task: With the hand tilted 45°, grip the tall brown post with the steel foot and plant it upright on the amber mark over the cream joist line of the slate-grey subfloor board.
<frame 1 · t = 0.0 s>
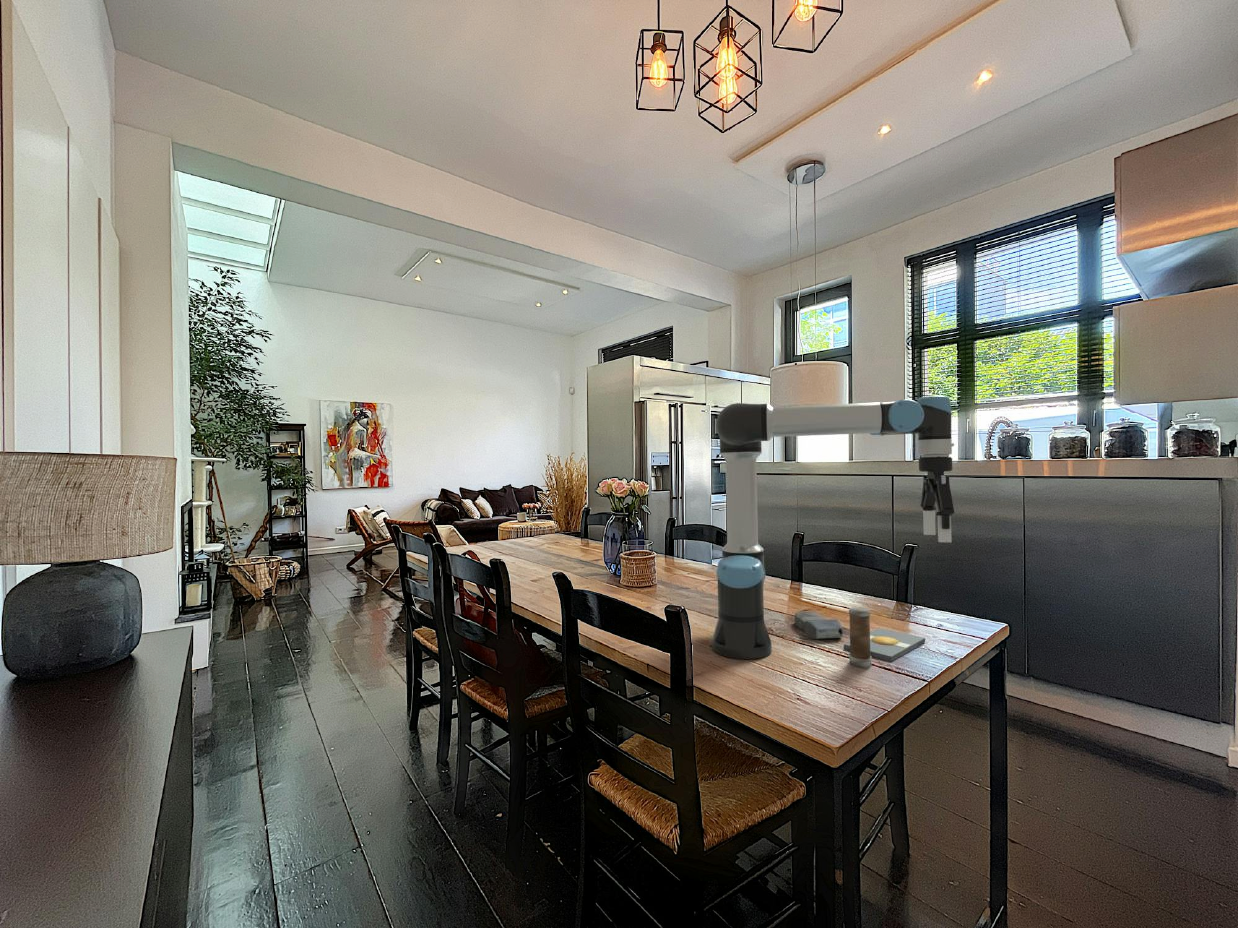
hand: (936, 538, 138), 28 cm above the table, tool pointing down, fingers open, 13 cm apart
tall brown post: (860, 663, 128), on the table
handheld device: (813, 631, 154), on the table
subfloor board: (885, 645, 140), on the table
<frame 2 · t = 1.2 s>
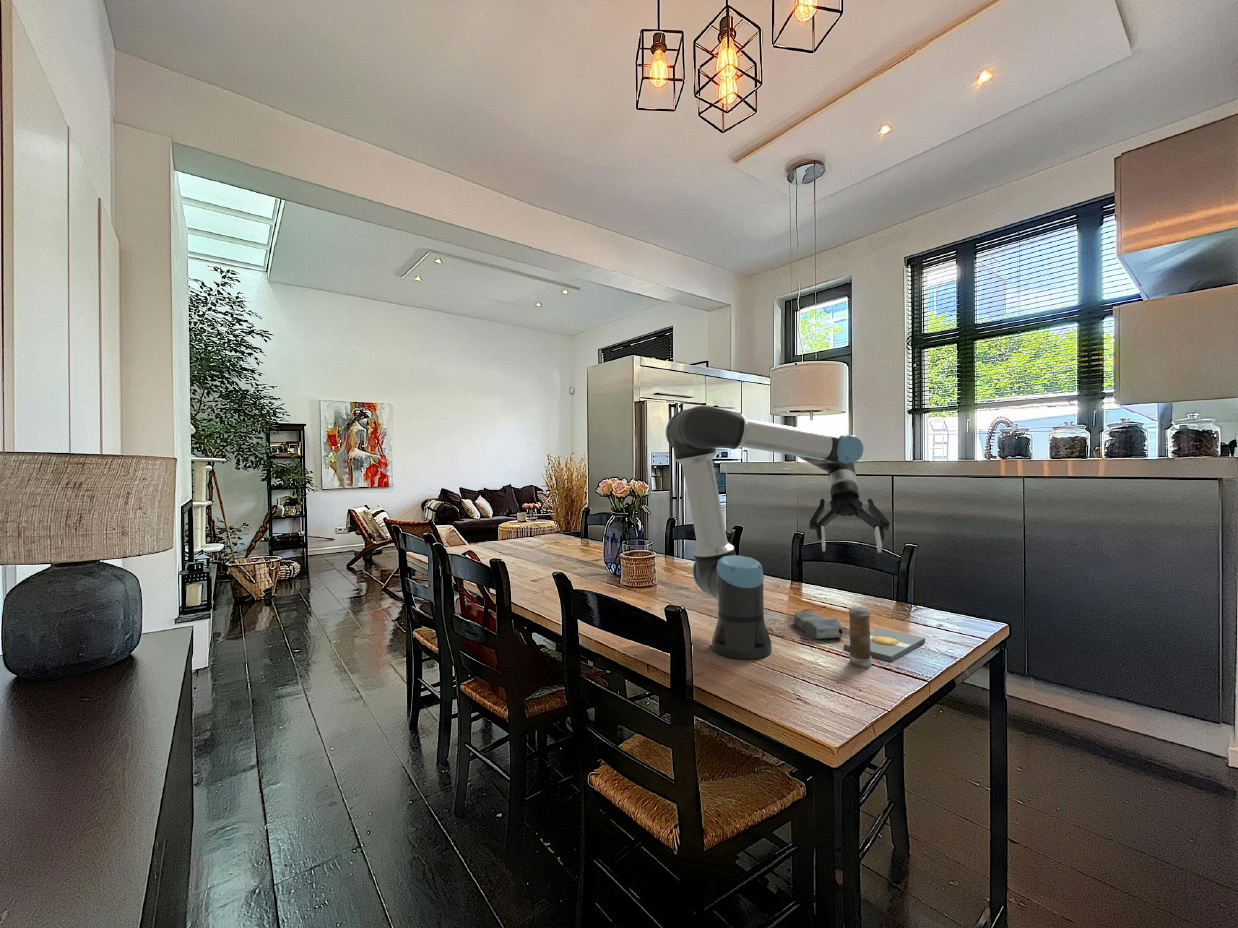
hand: (851, 549, 141), 25 cm above the table, tool tilted 45°, fingers open, 13 cm apart
nothing on the table moved.
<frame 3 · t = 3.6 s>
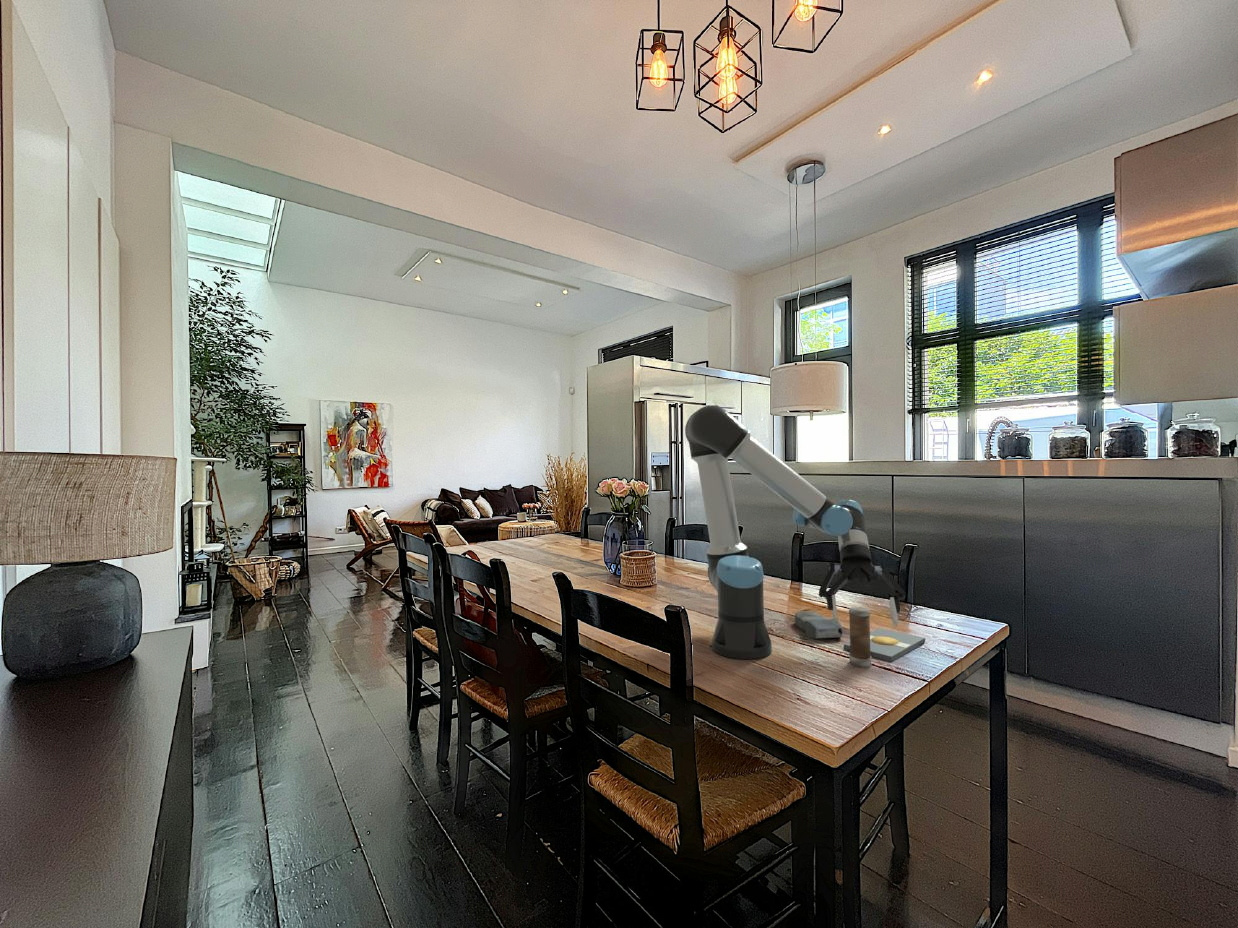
hand: (865, 622, 131), 9 cm above the table, tool tilted 45°, fingers open, 13 cm apart
nothing on the table moved.
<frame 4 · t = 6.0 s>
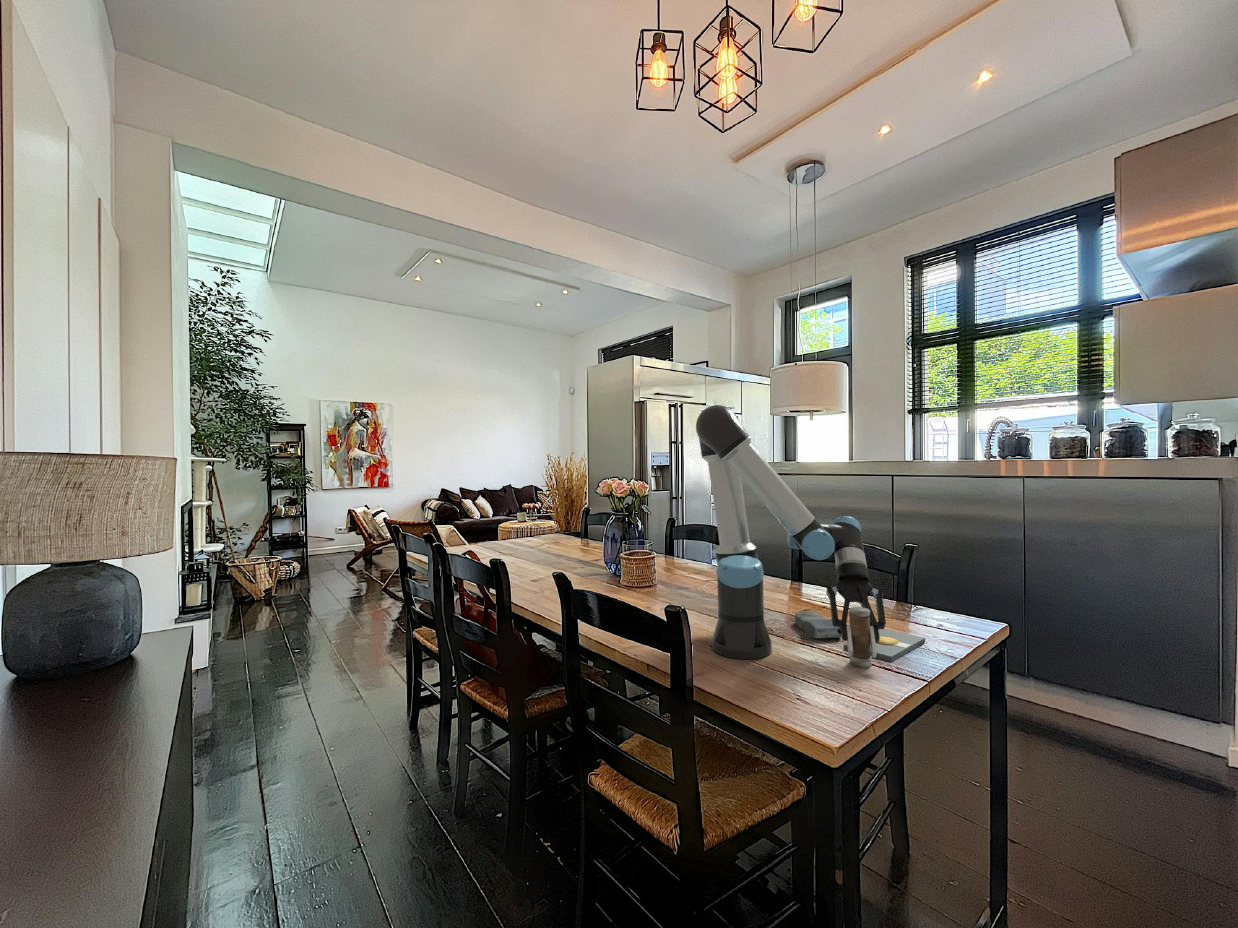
hand: (862, 653, 124), 4 cm above the table, tool tilted 45°, fingers closed on tall brown post, 4 cm apart
tall brown post: (860, 663, 128), on the table, touching gripper
everything else where it was.
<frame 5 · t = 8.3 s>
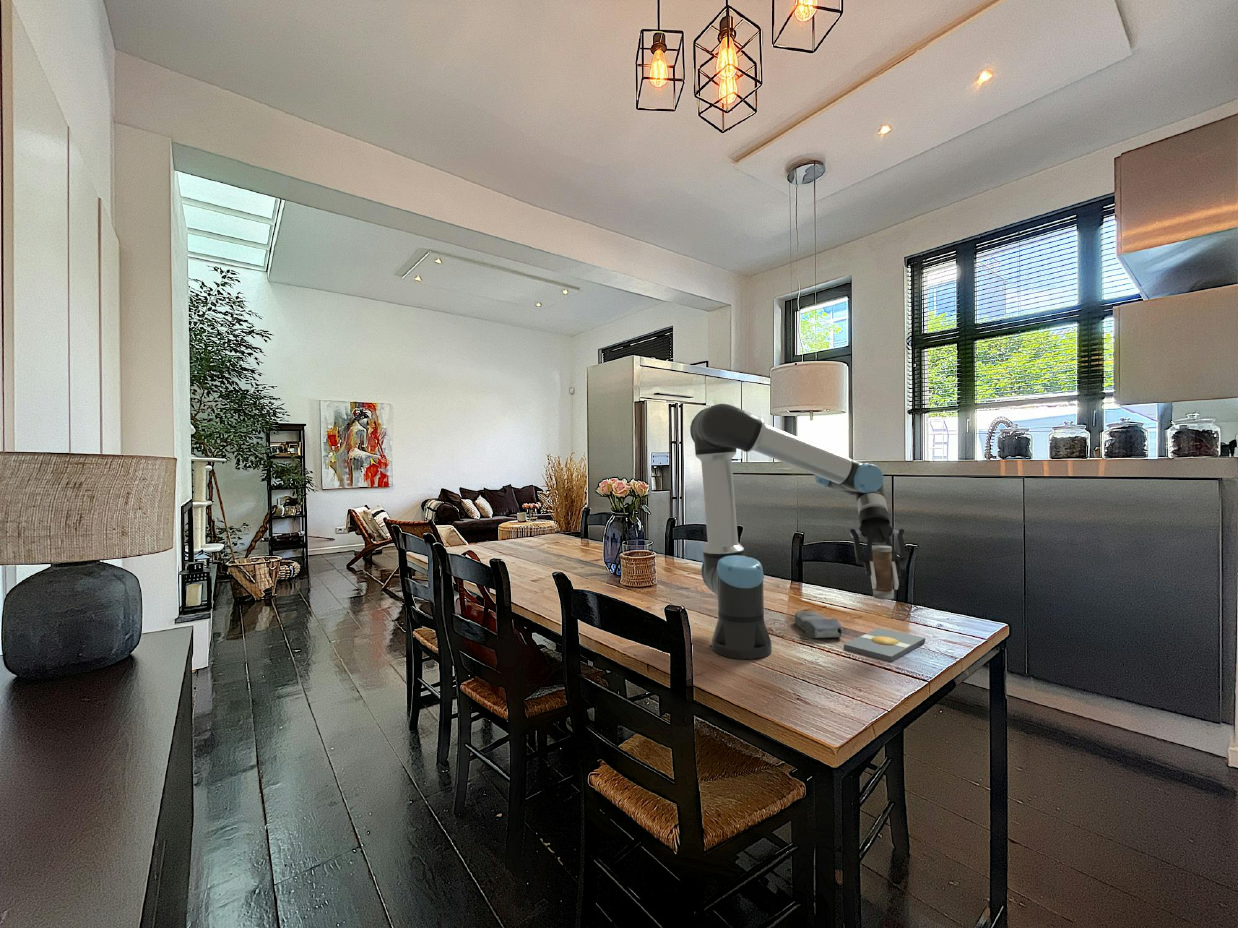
hand: (885, 586, 134), 17 cm above the table, tool tilted 45°, fingers closed on tall brown post, 4 cm apart
tall brown post: (883, 597, 138), point 13 cm above the table, touching gripper
everything else where it was.
when the fingers open (7 cm above the table, at t = 11.0 s): tall brown post drops 2 cm, resting on subfloor board.
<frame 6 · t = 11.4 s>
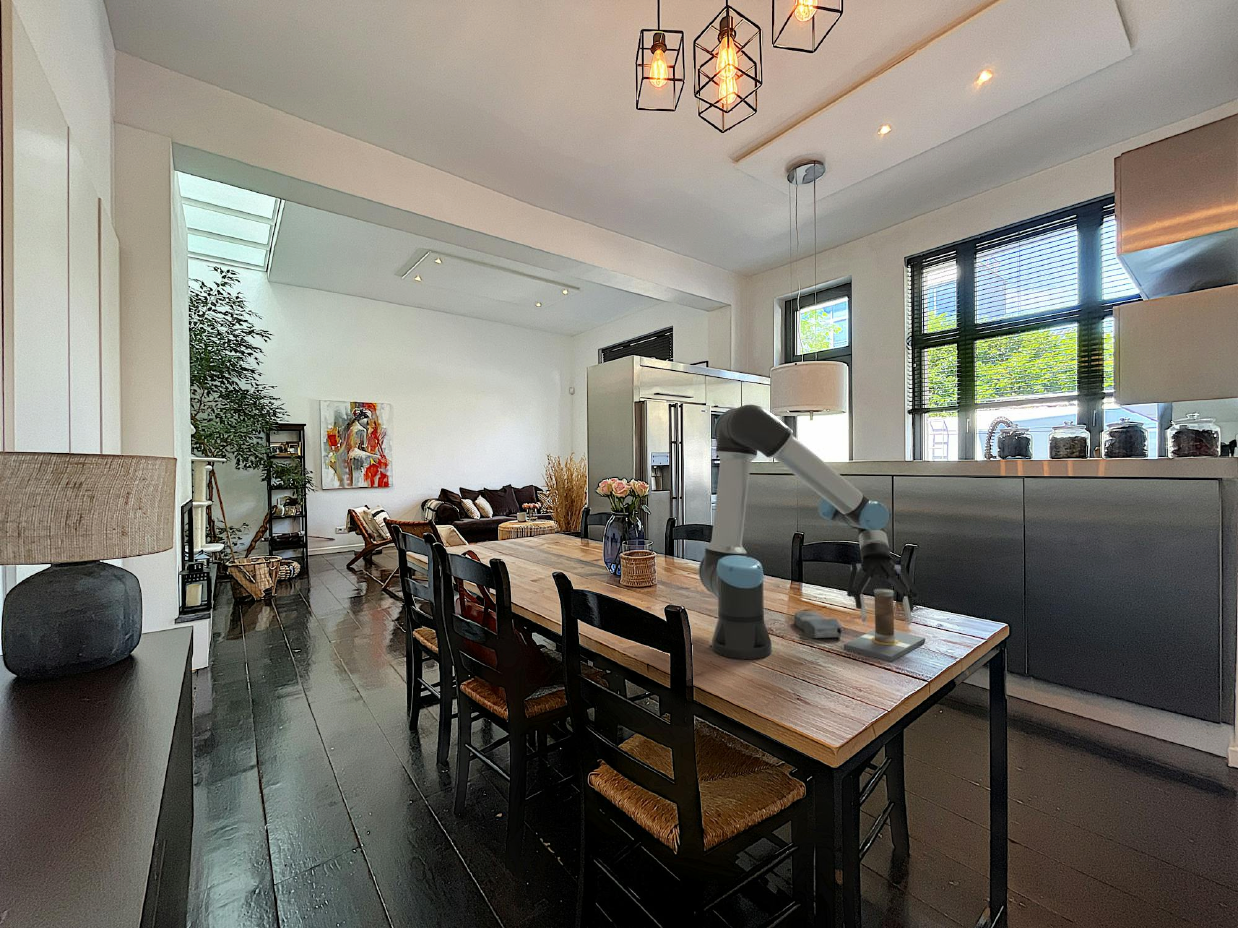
hand: (886, 620, 137), 7 cm above the table, tool tilted 45°, fingers open, 10 cm apart
tall brown post: (884, 640, 140), point 1 cm above the table, touching subfloor board
everything else where it was.
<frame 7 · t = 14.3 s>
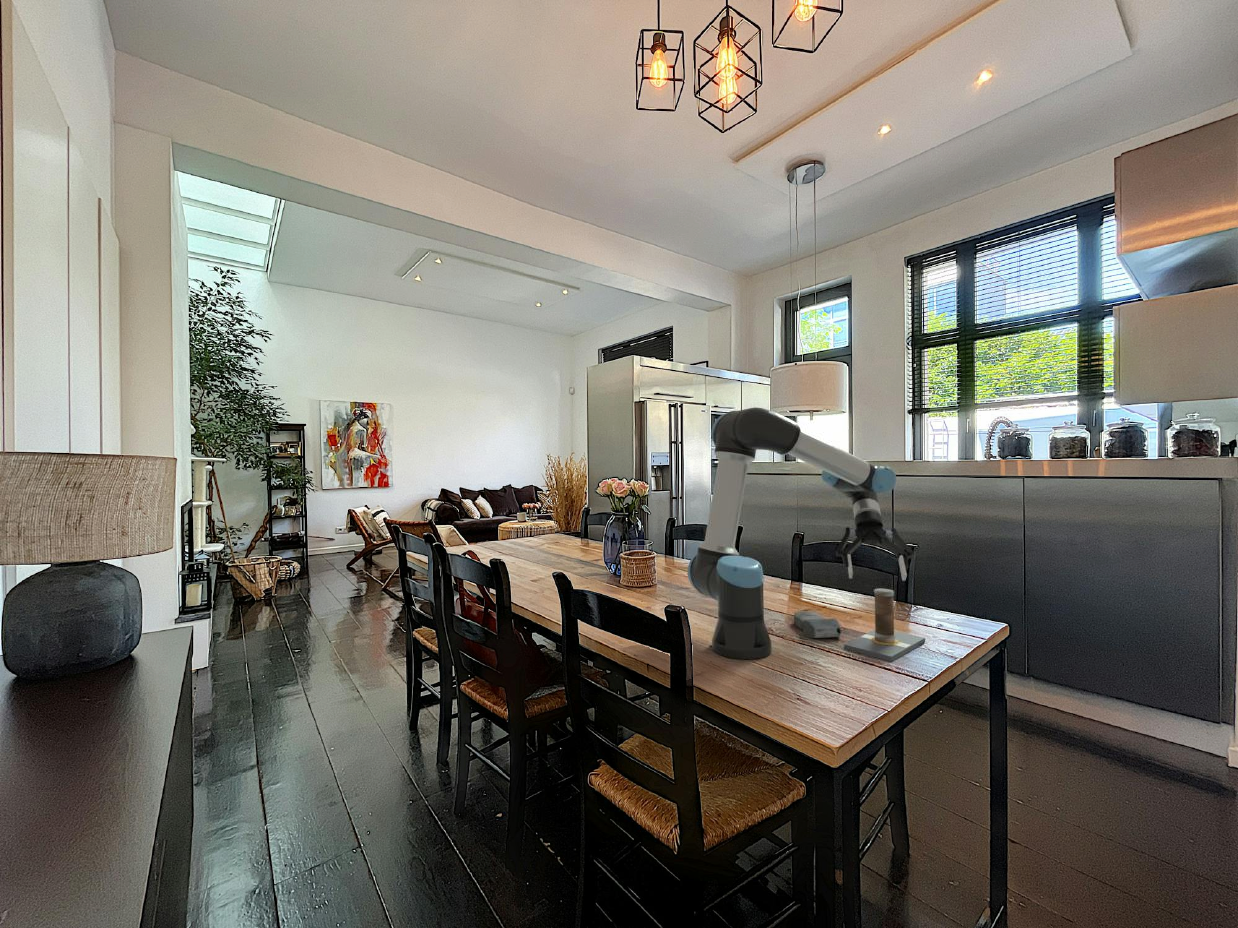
hand: (877, 577, 149), 16 cm above the table, tool tilted 45°, fingers open, 13 cm apart
nothing on the table moved.
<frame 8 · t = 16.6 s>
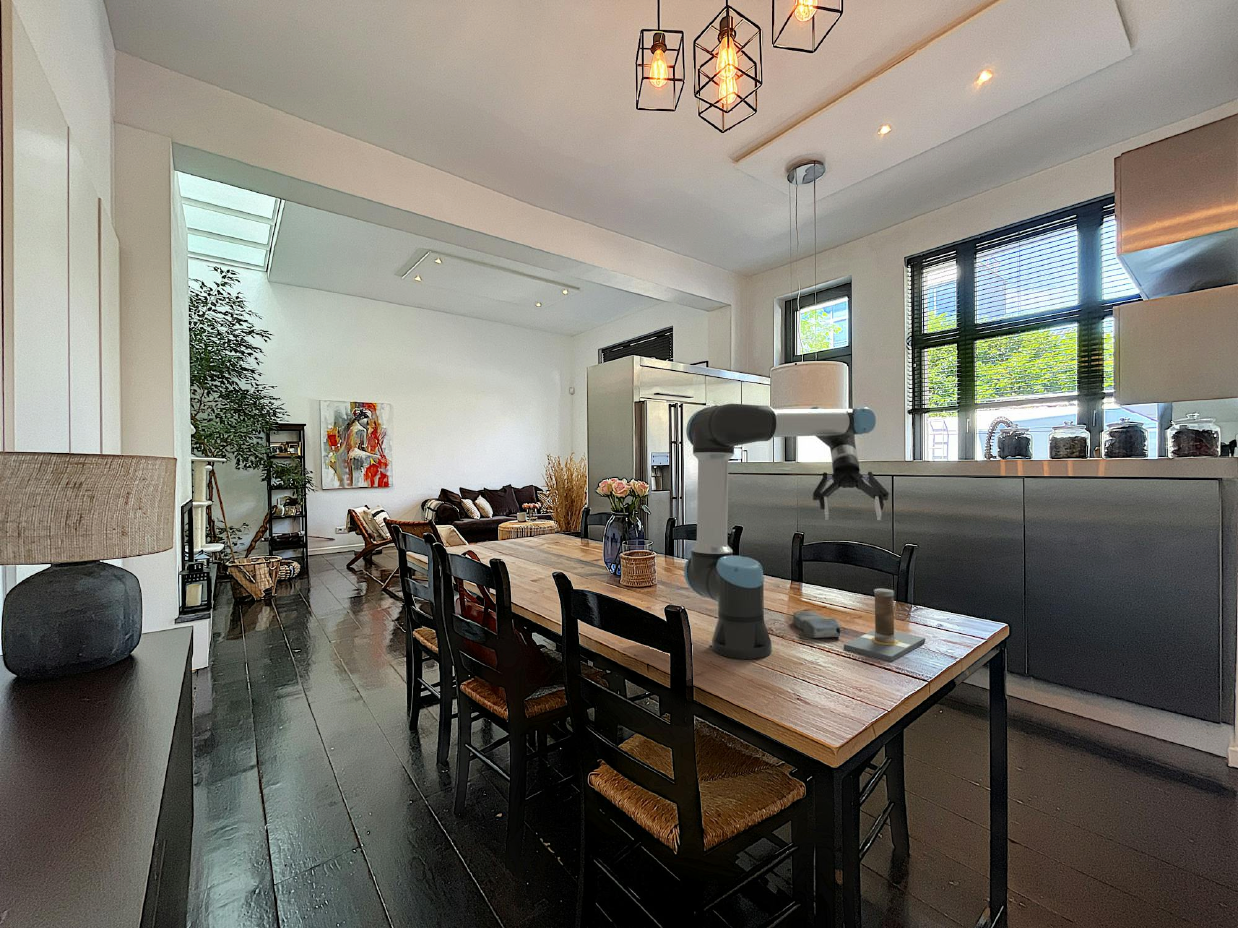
hand: (853, 517, 150), 33 cm above the table, tool tilted 45°, fingers open, 13 cm apart
nothing on the table moved.
at the end: tall brown post 0.0 cm from the subfloor board (horizontally); tall brown post tilted 0°; the gripper is holding nothing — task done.
